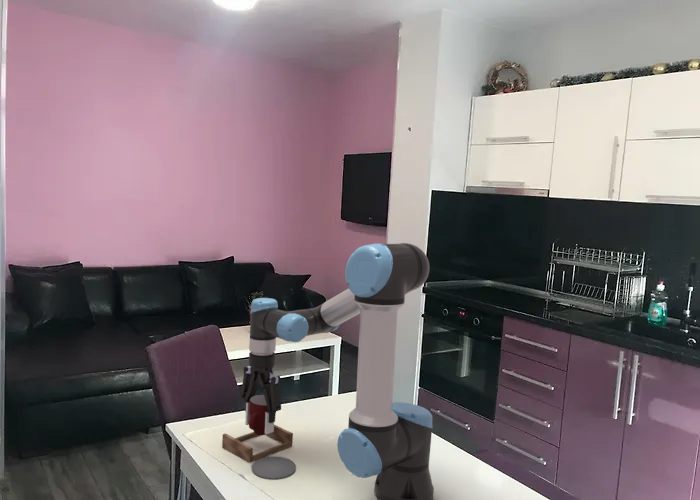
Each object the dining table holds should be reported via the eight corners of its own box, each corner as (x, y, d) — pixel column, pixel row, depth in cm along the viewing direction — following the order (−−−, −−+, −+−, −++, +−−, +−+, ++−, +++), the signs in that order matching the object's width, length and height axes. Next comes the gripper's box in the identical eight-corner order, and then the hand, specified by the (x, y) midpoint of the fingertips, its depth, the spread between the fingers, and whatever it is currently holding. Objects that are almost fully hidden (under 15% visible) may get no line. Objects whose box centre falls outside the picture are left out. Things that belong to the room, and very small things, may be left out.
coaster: (305, 469, 156) (305, 467, 156) (271, 484, 147) (271, 482, 147) (275, 454, 164) (276, 452, 164) (242, 467, 155) (242, 465, 155)
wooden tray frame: (292, 446, 170) (292, 433, 170) (249, 463, 158) (250, 449, 158) (264, 432, 178) (265, 420, 178) (222, 447, 166) (222, 434, 166)
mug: (265, 444, 161) (267, 410, 160) (238, 438, 163) (241, 405, 162) (278, 429, 171) (281, 397, 170) (253, 424, 173) (256, 392, 172)
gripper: (296, 357, 161) (293, 435, 163) (249, 342, 175) (246, 414, 177) (276, 362, 156) (273, 443, 158) (229, 346, 169) (227, 420, 171)
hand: (259, 428), depth 167 cm, fingers closed on mug, 8 cm apart
